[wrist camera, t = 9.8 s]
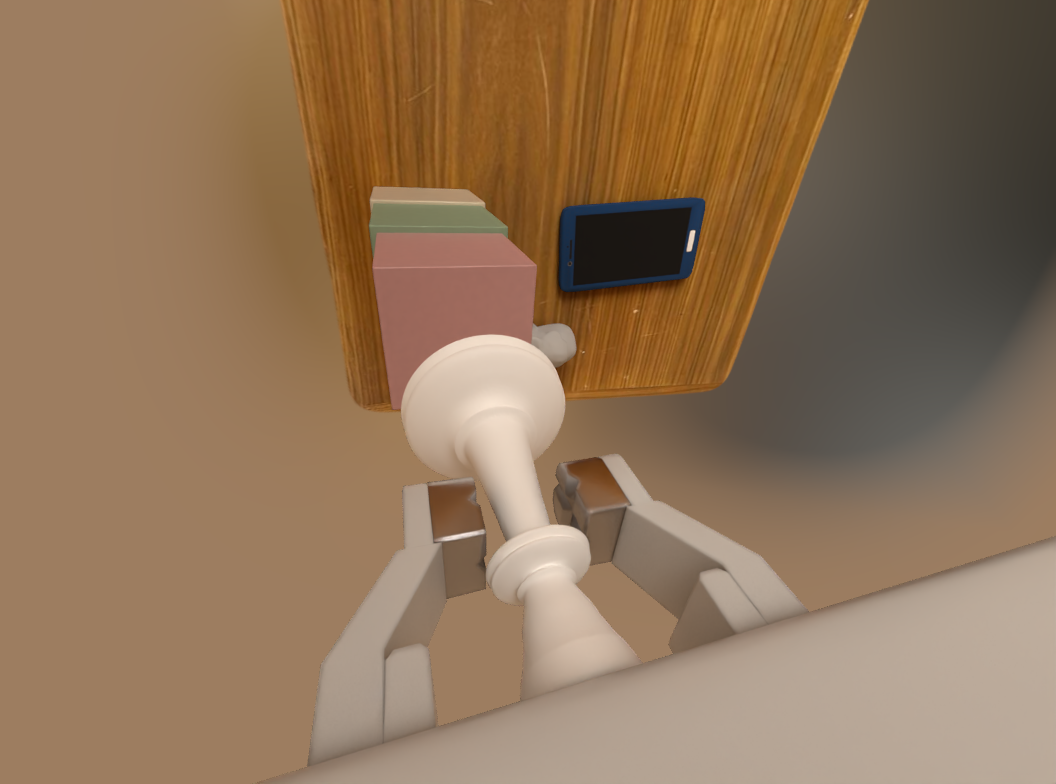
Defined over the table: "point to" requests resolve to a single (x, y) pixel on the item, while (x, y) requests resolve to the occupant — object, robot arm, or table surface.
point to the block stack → (443, 276)
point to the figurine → (554, 342)
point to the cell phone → (628, 243)
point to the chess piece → (515, 497)
